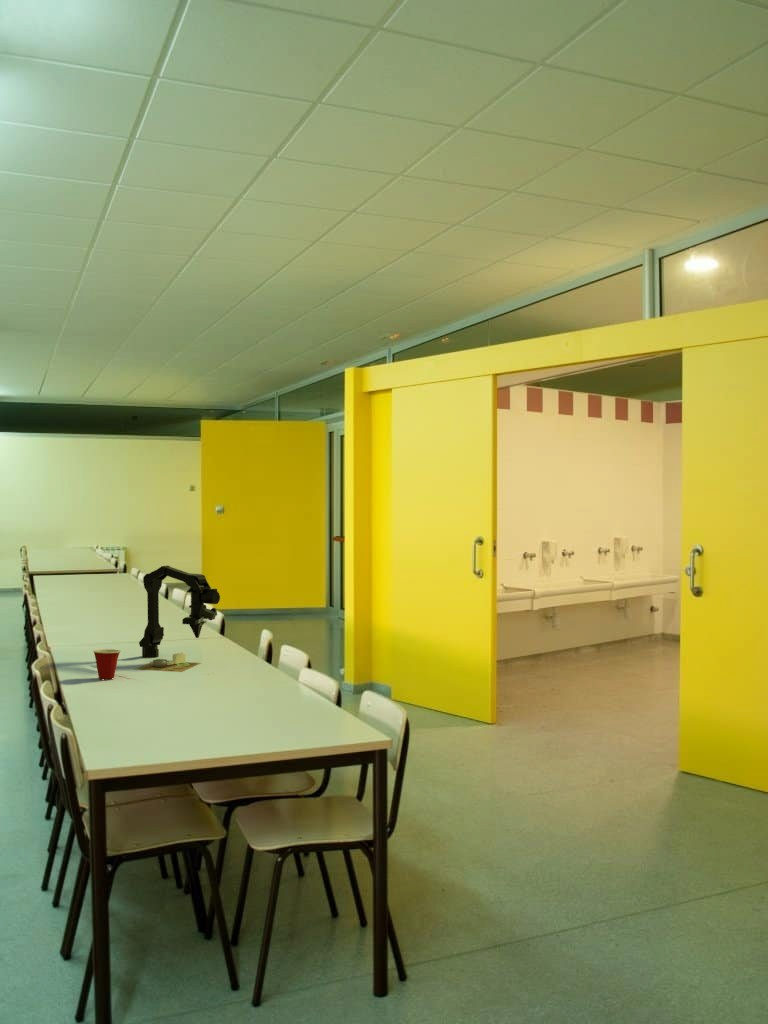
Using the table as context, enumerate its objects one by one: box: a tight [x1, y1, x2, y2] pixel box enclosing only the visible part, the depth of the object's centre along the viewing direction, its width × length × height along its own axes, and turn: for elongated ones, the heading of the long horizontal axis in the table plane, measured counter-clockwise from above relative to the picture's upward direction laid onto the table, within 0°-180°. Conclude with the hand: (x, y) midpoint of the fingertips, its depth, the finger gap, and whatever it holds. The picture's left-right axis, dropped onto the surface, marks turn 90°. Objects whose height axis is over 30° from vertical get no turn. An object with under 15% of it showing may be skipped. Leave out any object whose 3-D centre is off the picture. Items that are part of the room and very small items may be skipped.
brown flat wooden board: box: [135, 660, 202, 673], centre depth 374 cm, size 22×20×1 cm
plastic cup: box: [93, 648, 122, 681], centre depth 353 cm, size 11×11×12 cm
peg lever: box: [152, 652, 186, 667], centre depth 376 cm, size 15×6×4 cm, turn 136°
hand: (197, 637), depth 384 cm, fingers closed
